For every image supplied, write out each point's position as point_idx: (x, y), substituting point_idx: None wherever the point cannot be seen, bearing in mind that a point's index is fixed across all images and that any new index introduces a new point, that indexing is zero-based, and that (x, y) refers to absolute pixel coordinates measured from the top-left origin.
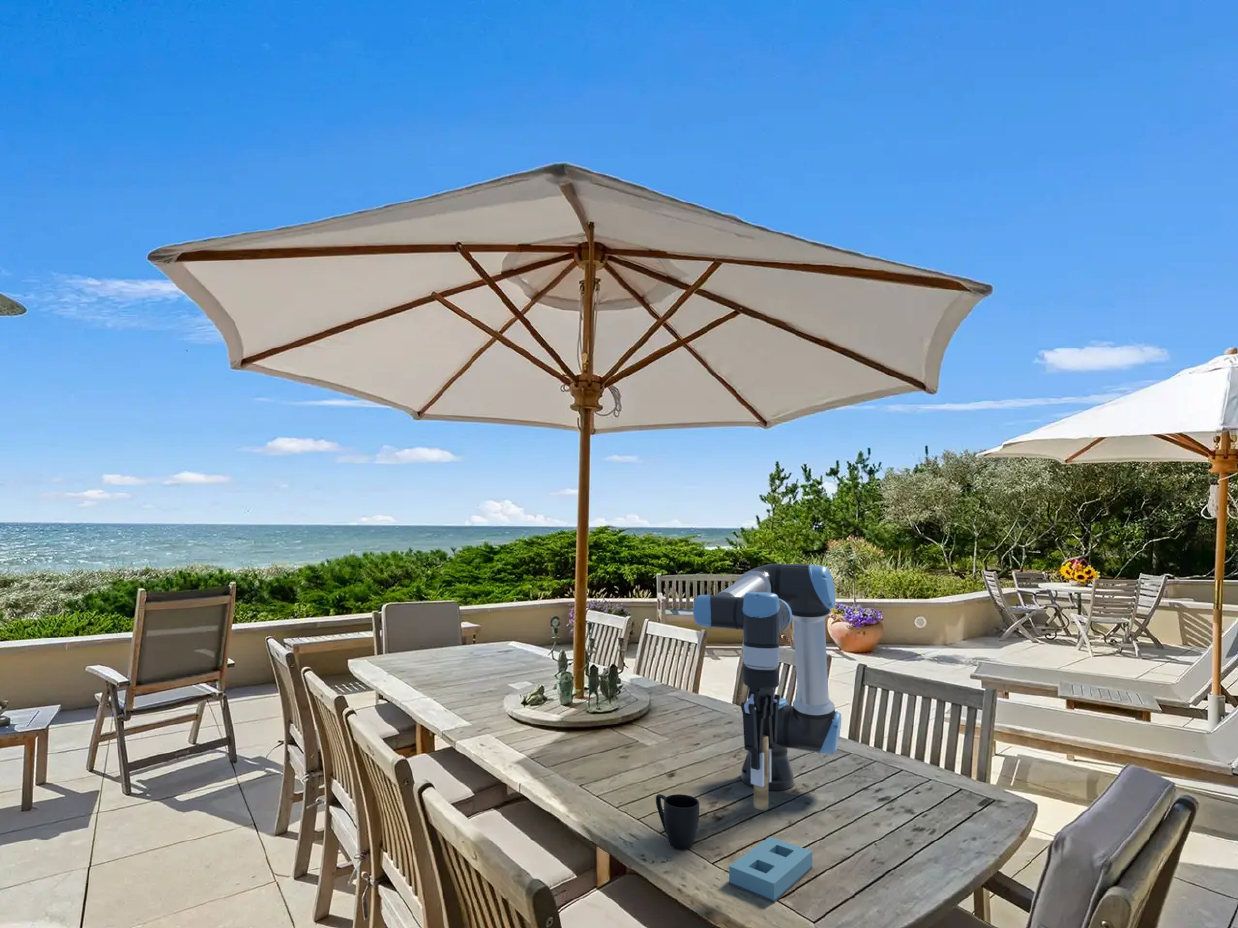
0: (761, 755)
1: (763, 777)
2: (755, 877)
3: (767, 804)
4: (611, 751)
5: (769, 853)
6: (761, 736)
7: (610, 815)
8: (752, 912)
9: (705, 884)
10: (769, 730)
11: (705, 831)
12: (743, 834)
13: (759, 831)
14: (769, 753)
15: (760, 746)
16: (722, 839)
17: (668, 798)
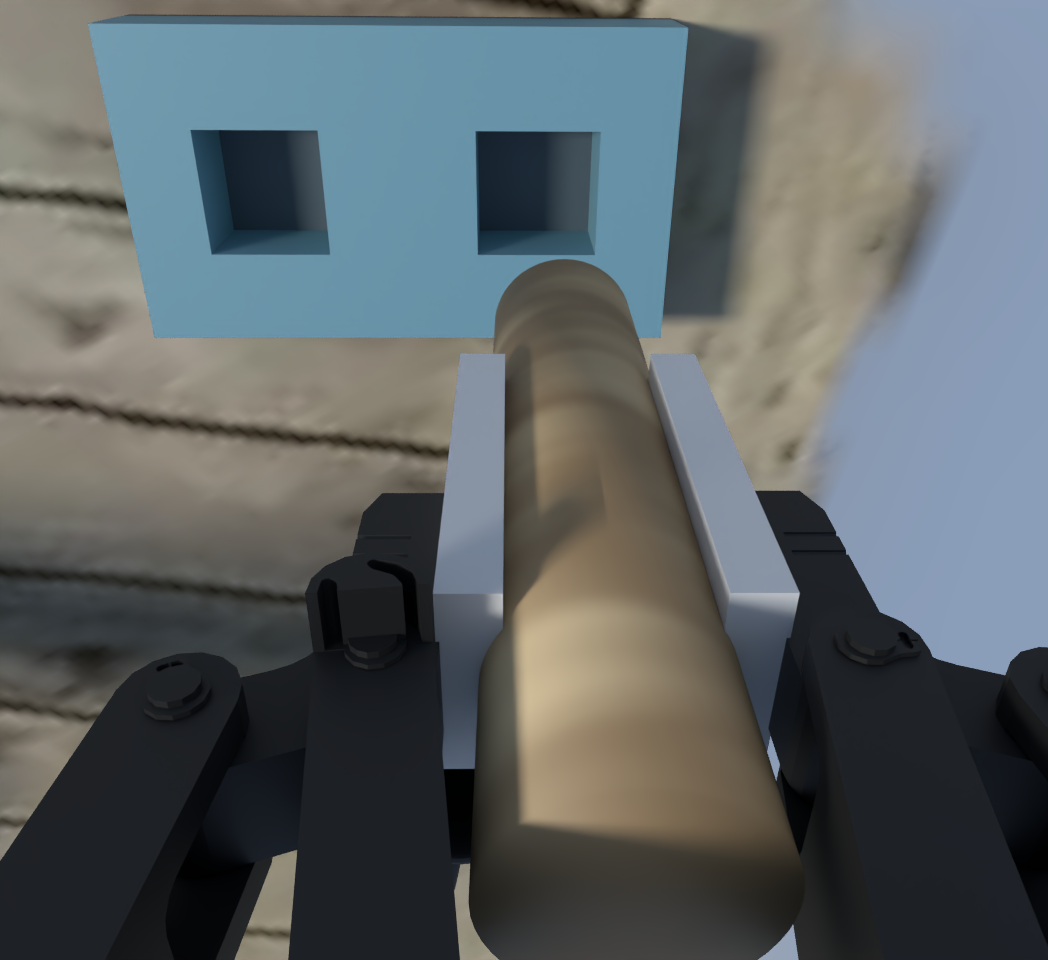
0: (785, 584)
1: (688, 397)
2: (675, 163)
3: (572, 271)
4: None
5: (354, 235)
6: (935, 876)
7: (463, 917)
8: (831, 71)
9: (721, 385)
10: (453, 941)
11: (264, 632)
12: (126, 499)
13: (18, 459)
14: (501, 558)
15: (906, 700)
16: (266, 543)
17: (459, 850)
